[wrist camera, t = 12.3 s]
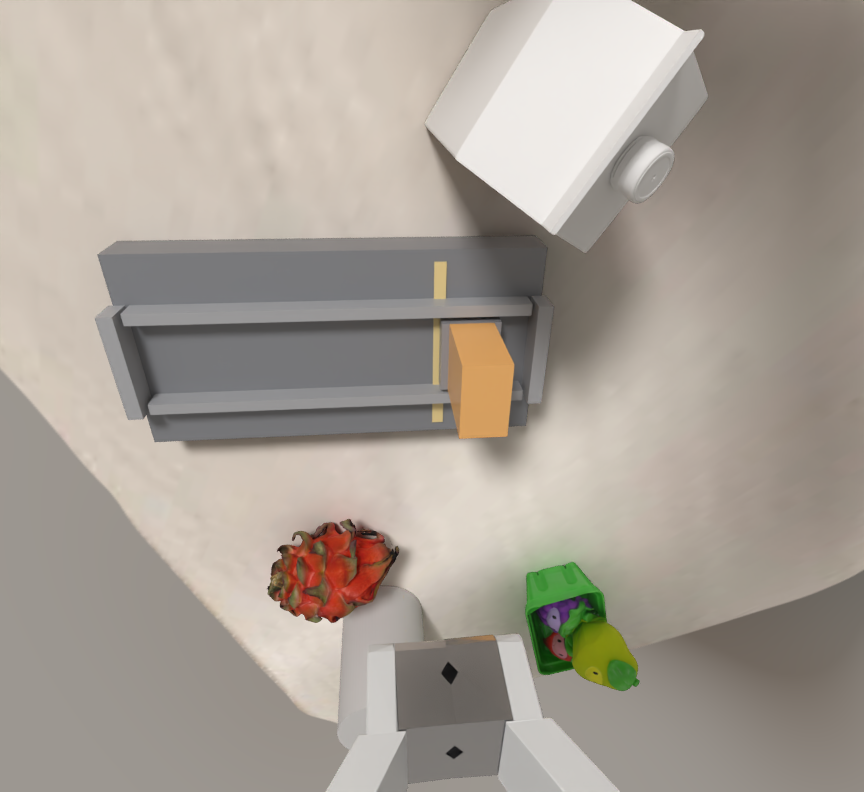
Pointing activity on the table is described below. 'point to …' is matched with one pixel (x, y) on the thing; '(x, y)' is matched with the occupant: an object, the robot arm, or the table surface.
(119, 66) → the table surface
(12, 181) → the table surface
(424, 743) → the robot arm
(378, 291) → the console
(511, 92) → the milk carton
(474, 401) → the fader
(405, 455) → the table surface
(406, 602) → the cup
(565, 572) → the fruit basket
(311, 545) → the dragon fruit
